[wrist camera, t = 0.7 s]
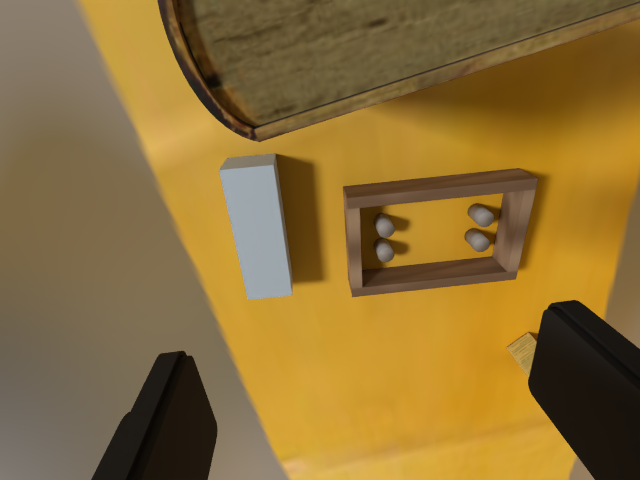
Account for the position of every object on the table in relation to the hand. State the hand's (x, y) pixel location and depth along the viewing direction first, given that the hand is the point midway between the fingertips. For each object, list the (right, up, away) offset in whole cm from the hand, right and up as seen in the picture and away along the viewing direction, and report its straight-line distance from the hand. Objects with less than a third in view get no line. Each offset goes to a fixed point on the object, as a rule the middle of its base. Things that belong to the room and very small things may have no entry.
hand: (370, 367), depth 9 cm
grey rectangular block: (-8, +6, +30) cm, 31 cm away
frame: (+11, +5, +31) cm, 34 cm away
